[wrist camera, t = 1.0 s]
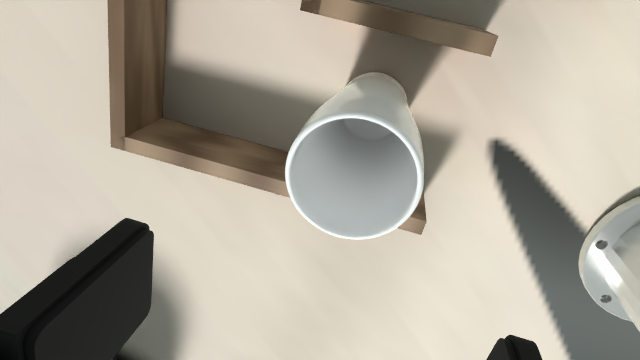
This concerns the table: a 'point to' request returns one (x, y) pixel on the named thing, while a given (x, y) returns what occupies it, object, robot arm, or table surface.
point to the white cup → (358, 161)
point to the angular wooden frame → (217, 149)
